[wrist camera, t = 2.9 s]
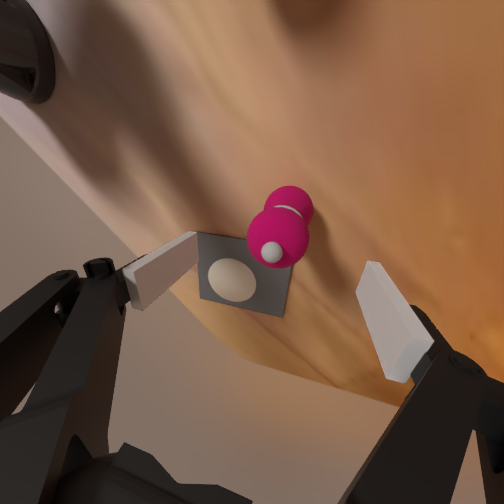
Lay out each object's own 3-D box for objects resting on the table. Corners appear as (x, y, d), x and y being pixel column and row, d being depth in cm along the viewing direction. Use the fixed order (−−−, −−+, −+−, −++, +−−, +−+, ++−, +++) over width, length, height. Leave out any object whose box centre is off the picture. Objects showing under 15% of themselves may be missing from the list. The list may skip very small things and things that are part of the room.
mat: (201, 296, 47) (199, 298, 46) (196, 231, 40) (194, 232, 39) (282, 315, 43) (282, 318, 42) (294, 247, 36) (294, 248, 35)
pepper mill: (321, 195, 31) (339, 241, 13) (298, 232, 34) (288, 307, 17) (281, 175, 31) (247, 193, 14) (262, 214, 35) (216, 269, 17)
